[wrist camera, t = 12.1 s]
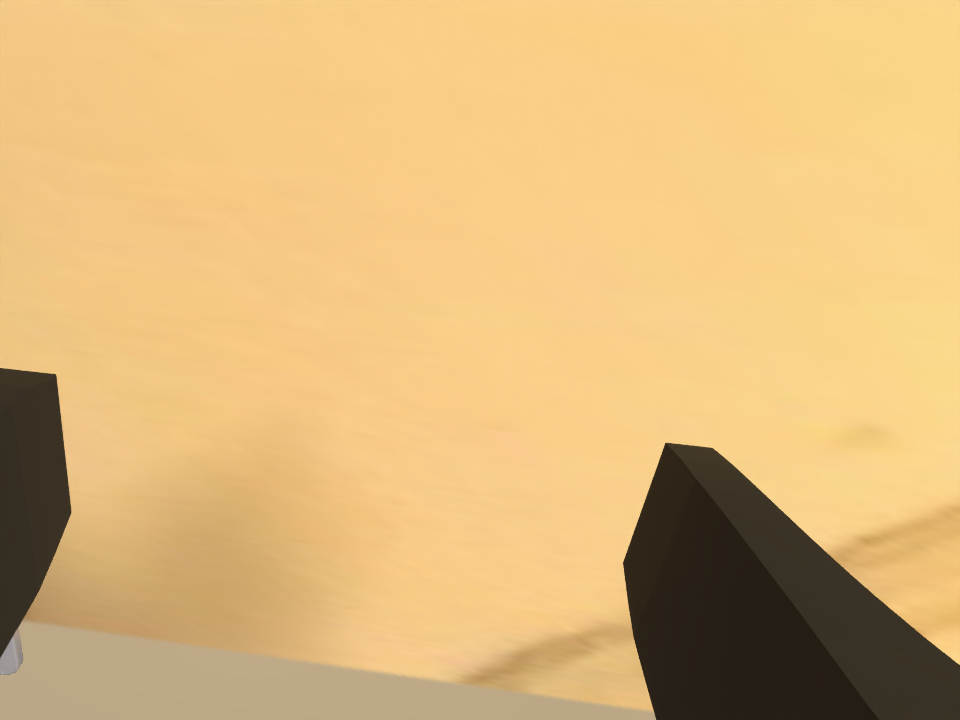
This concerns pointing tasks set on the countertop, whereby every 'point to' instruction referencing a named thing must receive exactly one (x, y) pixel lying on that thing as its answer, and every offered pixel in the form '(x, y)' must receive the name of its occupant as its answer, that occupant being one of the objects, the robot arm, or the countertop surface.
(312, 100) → the countertop surface
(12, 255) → the countertop surface
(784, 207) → the countertop surface
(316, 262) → the countertop surface
